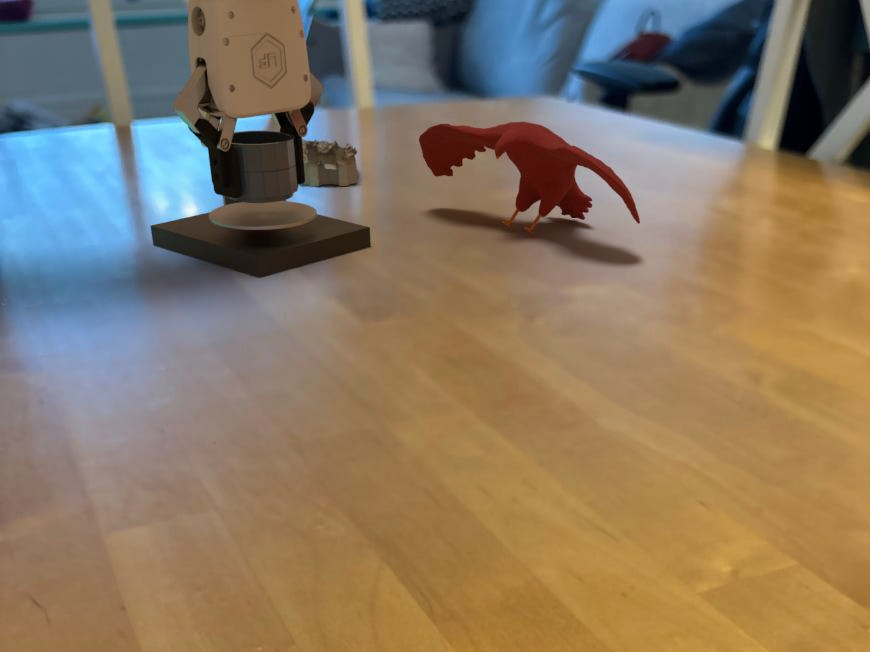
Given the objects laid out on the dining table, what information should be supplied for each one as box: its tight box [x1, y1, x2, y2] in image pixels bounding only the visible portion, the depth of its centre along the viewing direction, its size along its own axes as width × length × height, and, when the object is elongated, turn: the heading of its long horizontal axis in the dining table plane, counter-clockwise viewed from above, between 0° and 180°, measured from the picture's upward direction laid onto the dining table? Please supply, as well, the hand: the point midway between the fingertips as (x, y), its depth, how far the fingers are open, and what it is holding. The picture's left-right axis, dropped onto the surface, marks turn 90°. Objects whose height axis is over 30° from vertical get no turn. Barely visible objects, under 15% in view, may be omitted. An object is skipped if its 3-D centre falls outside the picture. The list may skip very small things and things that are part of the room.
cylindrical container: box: [230, 129, 299, 203], centre depth 102 cm, size 7×7×5 cm
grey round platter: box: [208, 200, 318, 230], centre depth 104 cm, size 10×10×1 cm
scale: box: [149, 196, 372, 279], centre depth 108 cm, size 17×14×4 cm
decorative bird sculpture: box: [418, 121, 641, 237], centre depth 112 cm, size 28×9×15 cm
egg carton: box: [302, 138, 358, 188], centre depth 133 cm, size 11×8×4 cm
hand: (260, 186), depth 103 cm, fingers closed on cylindrical container, 6 cm apart
